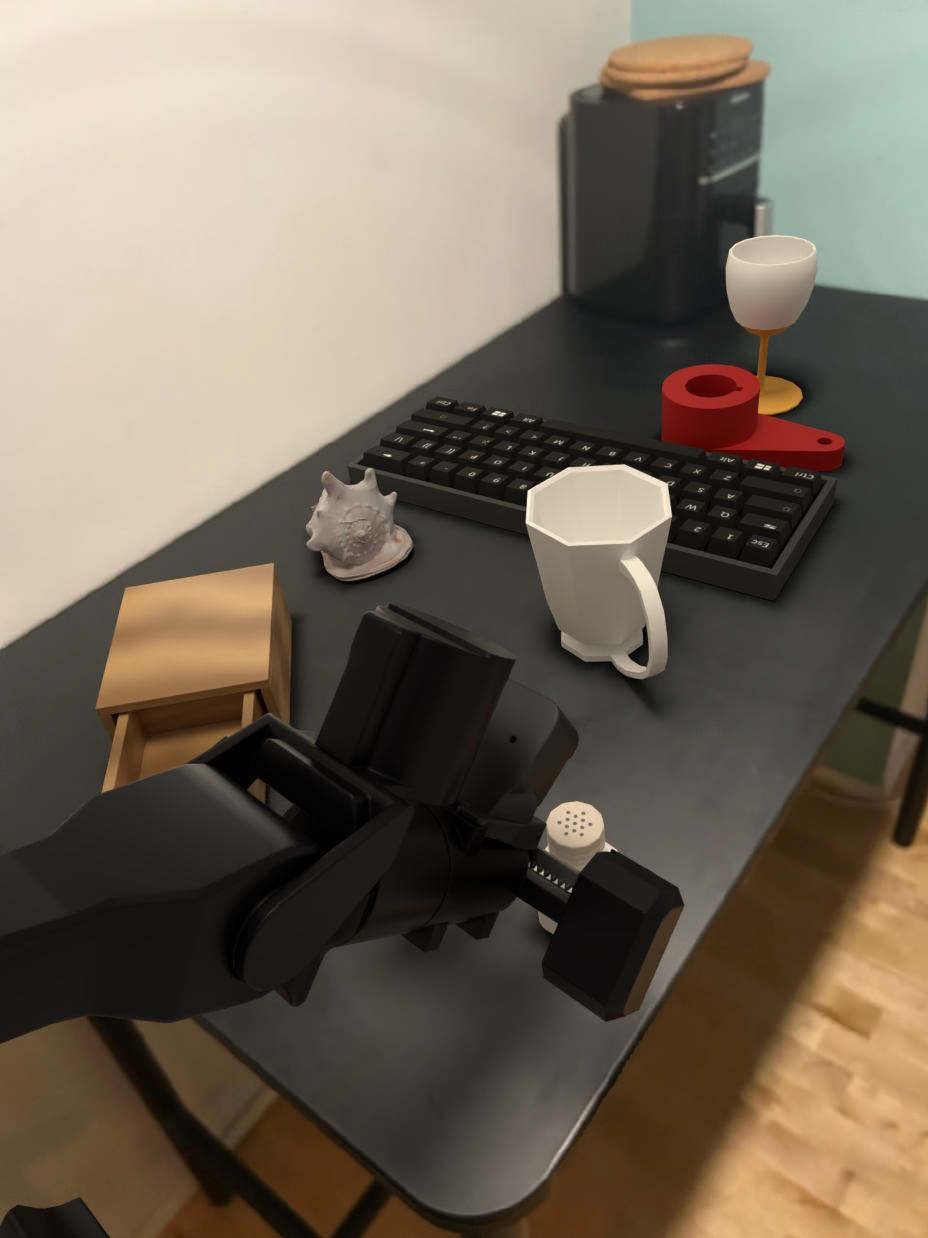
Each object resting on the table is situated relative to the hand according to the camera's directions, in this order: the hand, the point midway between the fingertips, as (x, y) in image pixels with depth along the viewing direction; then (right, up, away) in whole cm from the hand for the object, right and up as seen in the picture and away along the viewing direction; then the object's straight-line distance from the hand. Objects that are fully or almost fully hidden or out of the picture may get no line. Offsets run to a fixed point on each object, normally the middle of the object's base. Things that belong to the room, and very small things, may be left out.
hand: (564, 846), depth 53 cm
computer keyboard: (+6, +25, +42) cm, 49 cm away
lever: (+24, +30, +45) cm, 59 cm away
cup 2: (+27, +37, +53) cm, 70 cm away
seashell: (-16, +19, +40) cm, 47 cm away
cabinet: (-26, +7, +26) cm, 37 cm away
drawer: (-24, -2, +15) cm, 29 cm away
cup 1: (+7, +10, +24) cm, 27 cm away
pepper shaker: (+2, -6, +6) cm, 9 cm away
